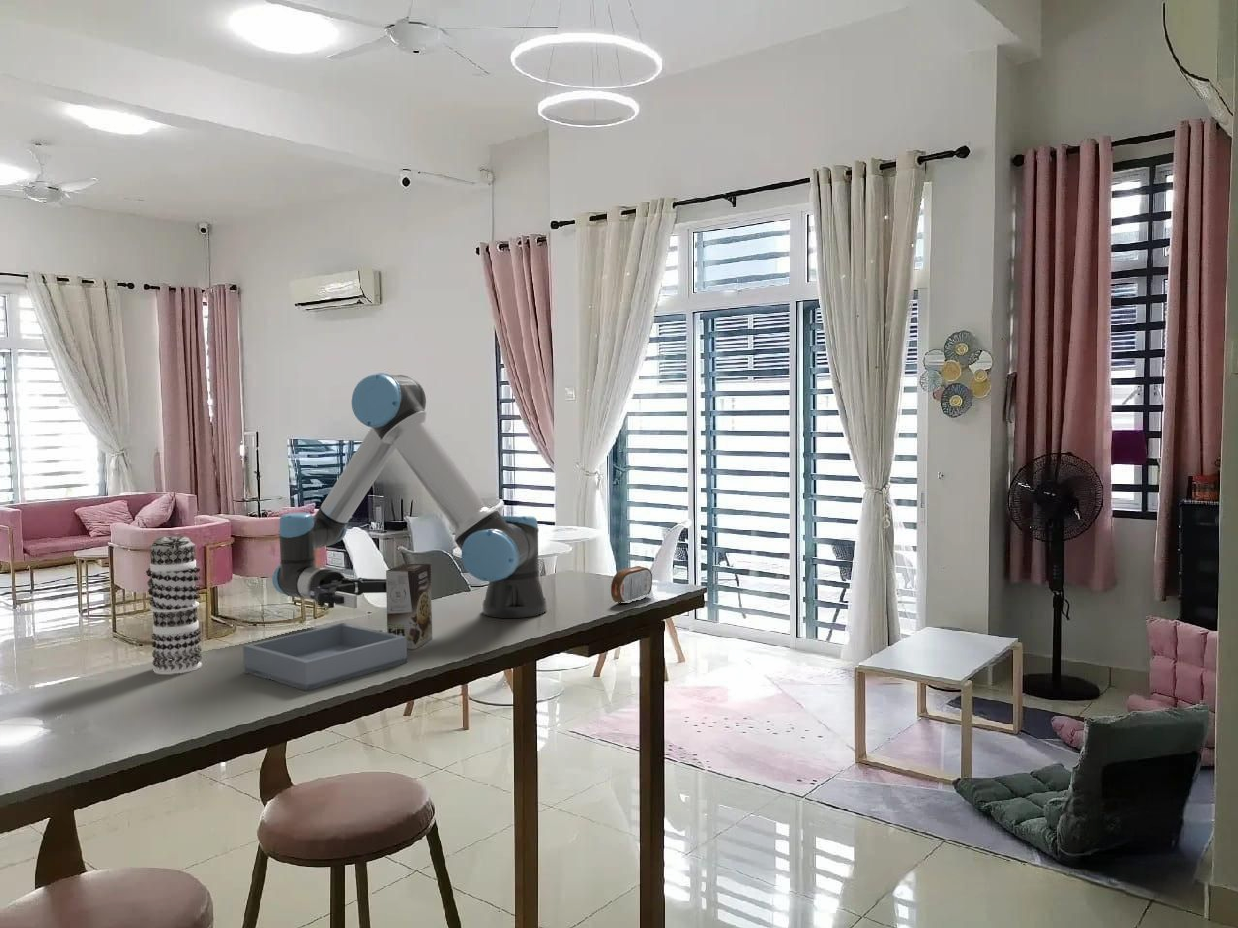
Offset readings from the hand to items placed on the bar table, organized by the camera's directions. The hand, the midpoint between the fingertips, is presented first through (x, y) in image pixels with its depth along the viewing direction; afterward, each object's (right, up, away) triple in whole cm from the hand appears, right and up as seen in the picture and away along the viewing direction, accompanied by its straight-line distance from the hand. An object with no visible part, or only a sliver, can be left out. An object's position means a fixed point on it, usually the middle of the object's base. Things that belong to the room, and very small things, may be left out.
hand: (382, 596), depth 199 cm
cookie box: (+7, -9, -5) cm, 13 cm away
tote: (-5, -10, -22) cm, 25 cm away
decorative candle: (-34, -11, -21) cm, 41 cm away
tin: (+54, -6, +34) cm, 64 cm away
